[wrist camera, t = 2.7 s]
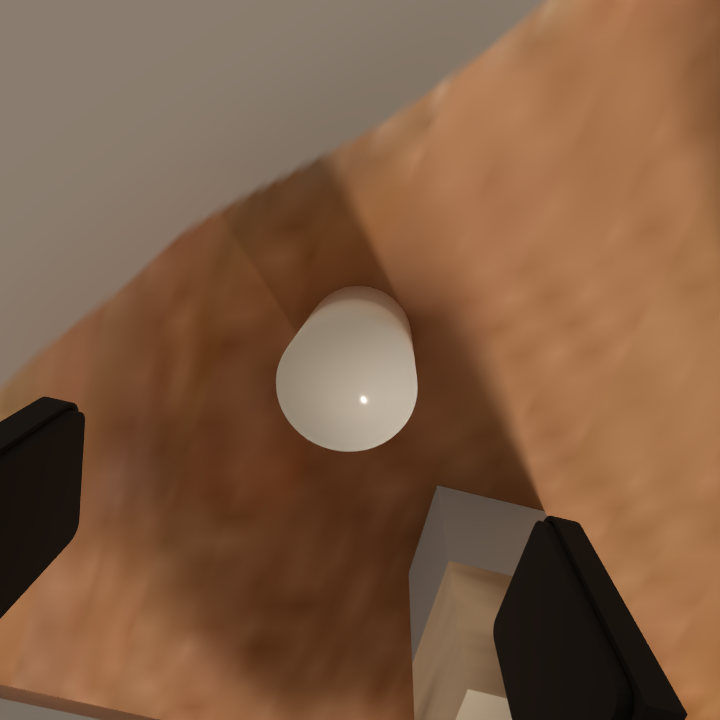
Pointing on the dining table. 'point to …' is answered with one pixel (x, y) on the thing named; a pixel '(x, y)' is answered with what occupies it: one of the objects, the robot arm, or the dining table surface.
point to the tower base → (464, 545)
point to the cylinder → (350, 371)
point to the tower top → (461, 649)
